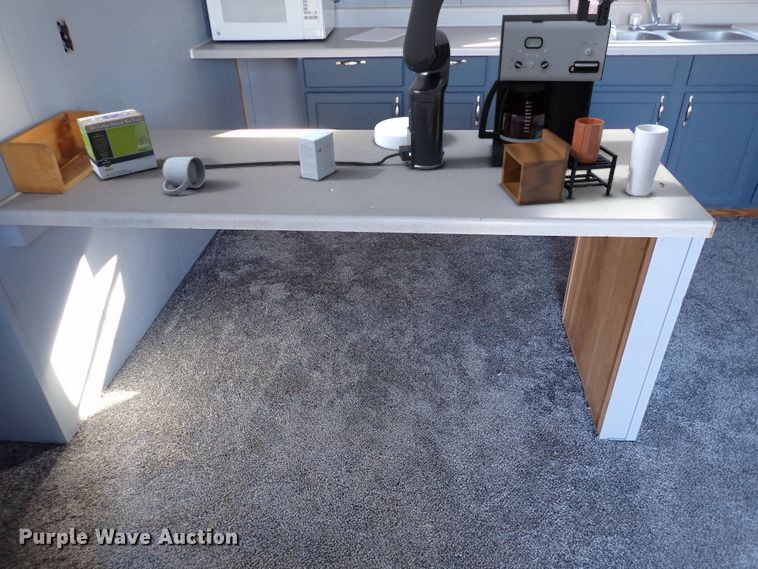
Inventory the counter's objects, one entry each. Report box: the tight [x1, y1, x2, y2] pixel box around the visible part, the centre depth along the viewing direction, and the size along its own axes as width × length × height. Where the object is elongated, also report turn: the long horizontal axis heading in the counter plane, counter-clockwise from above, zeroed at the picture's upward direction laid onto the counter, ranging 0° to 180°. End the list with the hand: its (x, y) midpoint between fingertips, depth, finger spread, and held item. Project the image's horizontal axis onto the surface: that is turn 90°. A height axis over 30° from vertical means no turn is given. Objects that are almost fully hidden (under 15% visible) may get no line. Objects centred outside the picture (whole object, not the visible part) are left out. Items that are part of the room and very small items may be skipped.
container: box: [374, 116, 409, 151], centre depth 166 cm, size 20×20×5 cm
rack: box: [564, 144, 619, 200], centre depth 127 cm, size 10×11×10 cm
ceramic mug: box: [161, 156, 206, 196], centre depth 136 cm, size 11×8×8 cm
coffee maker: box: [477, 13, 612, 170], centre depth 142 cm, size 28×20×35 cm
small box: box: [297, 129, 336, 181], centre depth 141 cm, size 8×6×10 cm
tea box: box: [76, 108, 158, 180], centre depth 147 cm, size 15×10×15 cm
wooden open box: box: [500, 129, 570, 206], centre depth 125 cm, size 10×13×13 cm
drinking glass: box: [625, 123, 670, 197], centre depth 123 cm, size 7×7×15 cm
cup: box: [571, 117, 605, 162], centre depth 124 cm, size 6×6×8 cm
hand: (590, 23), depth 110 cm, fingers open, 8 cm apart
